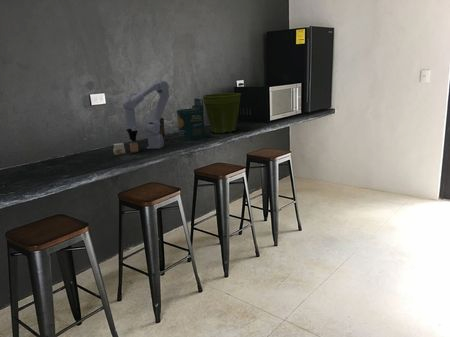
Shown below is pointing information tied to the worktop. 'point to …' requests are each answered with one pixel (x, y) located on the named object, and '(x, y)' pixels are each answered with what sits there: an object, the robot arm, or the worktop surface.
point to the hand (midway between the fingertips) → (133, 140)
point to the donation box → (191, 122)
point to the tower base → (119, 151)
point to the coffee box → (162, 128)
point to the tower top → (119, 146)
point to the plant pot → (222, 111)
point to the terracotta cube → (133, 147)
